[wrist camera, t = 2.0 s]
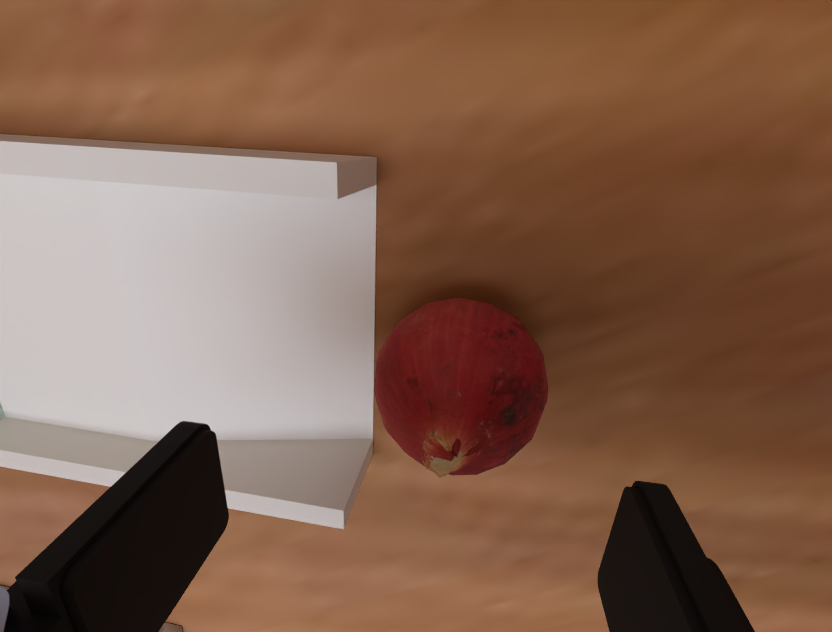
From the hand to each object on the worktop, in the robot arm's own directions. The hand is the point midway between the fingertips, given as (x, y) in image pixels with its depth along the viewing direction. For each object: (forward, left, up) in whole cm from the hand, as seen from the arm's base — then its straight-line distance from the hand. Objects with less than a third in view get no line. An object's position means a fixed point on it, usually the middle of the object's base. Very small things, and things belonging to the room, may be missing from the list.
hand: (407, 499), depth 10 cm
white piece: (+12, 0, -10) cm, 16 cm away
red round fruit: (-1, 0, -10) cm, 10 cm away
